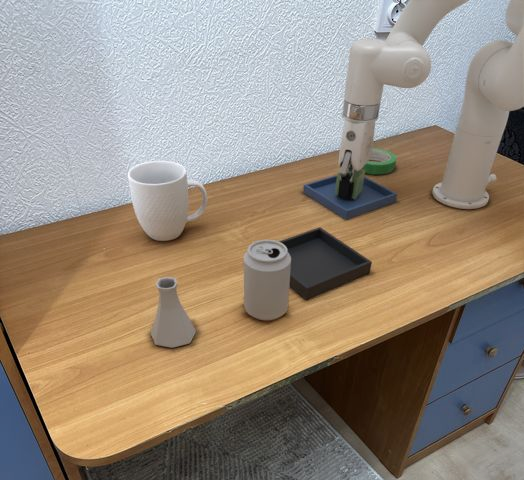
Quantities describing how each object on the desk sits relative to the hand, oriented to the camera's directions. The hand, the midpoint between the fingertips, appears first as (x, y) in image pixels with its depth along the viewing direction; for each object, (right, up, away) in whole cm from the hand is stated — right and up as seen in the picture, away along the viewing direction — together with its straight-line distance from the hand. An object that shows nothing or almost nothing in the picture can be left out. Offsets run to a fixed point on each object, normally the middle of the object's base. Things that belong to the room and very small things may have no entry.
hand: (348, 191), depth 117 cm
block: (0, 0, 0) cm, 0 cm away
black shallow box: (-10, -20, -20) cm, 31 cm away
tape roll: (+9, +11, +14) cm, 20 cm away
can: (-19, -30, -30) cm, 47 cm away
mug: (-39, -12, -12) cm, 43 cm away
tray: (0, -1, +1) cm, 1 cm away
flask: (-34, -34, -35) cm, 60 cm away
